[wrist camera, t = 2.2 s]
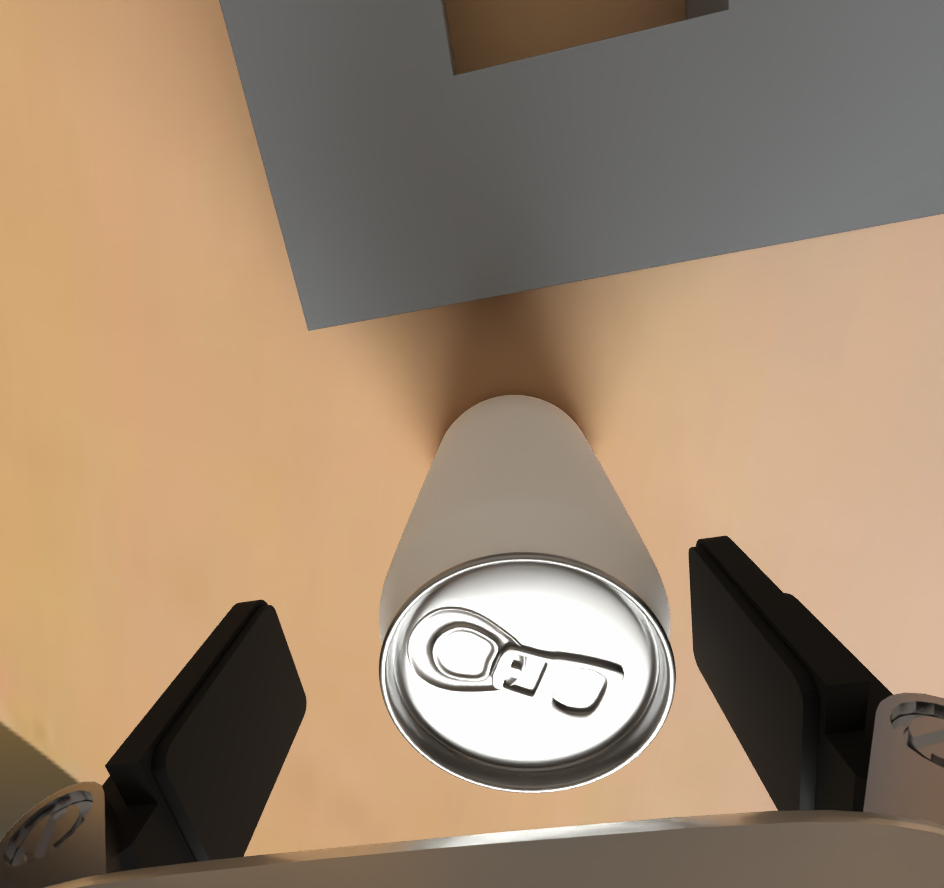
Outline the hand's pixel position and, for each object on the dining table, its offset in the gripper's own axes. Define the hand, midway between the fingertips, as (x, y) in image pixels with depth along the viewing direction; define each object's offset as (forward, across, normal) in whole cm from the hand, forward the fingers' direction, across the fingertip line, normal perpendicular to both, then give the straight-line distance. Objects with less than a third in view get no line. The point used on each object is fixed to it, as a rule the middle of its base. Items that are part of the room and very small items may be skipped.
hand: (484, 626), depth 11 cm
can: (+11, -1, 0) cm, 11 cm away
